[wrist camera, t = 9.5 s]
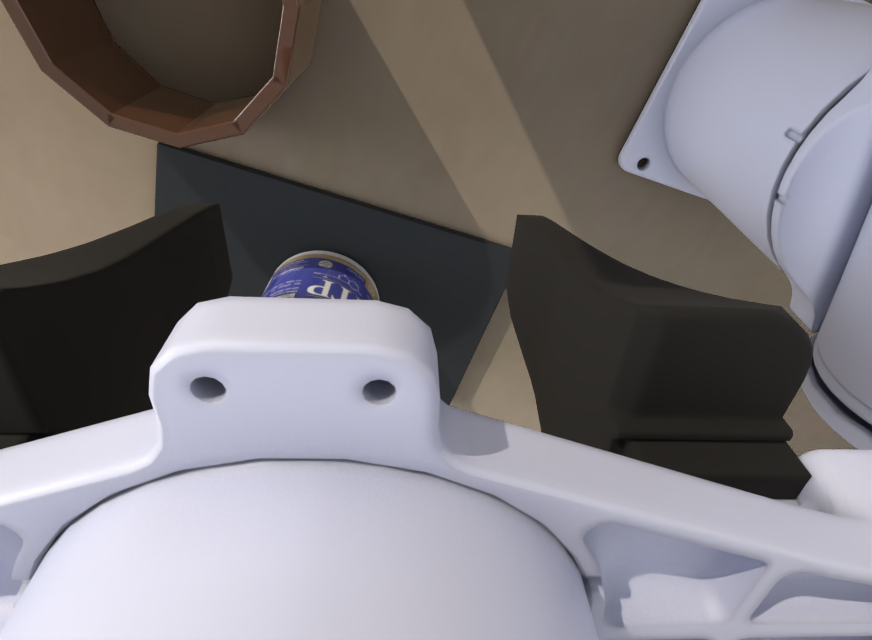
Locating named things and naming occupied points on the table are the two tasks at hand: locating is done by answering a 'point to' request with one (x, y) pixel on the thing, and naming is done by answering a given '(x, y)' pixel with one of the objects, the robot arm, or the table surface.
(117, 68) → the brown bowl
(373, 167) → the table surface
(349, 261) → the pill bottle
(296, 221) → the mat
